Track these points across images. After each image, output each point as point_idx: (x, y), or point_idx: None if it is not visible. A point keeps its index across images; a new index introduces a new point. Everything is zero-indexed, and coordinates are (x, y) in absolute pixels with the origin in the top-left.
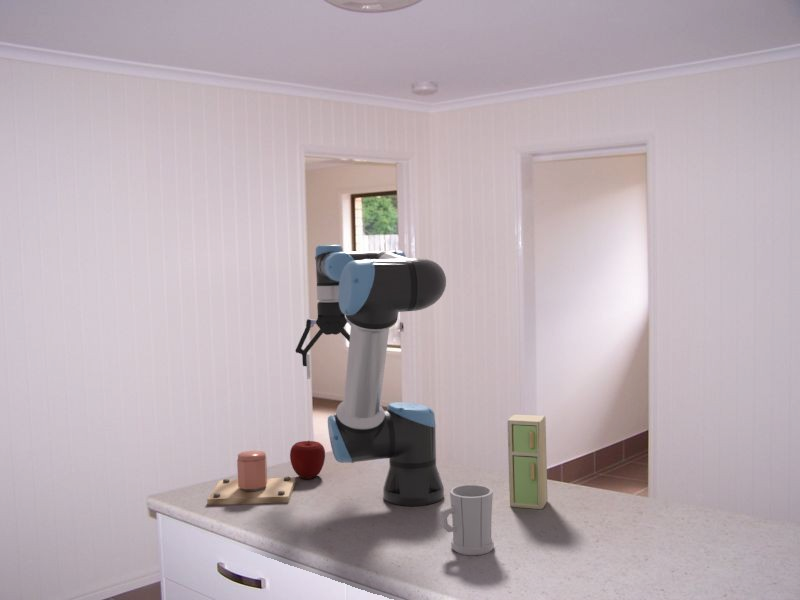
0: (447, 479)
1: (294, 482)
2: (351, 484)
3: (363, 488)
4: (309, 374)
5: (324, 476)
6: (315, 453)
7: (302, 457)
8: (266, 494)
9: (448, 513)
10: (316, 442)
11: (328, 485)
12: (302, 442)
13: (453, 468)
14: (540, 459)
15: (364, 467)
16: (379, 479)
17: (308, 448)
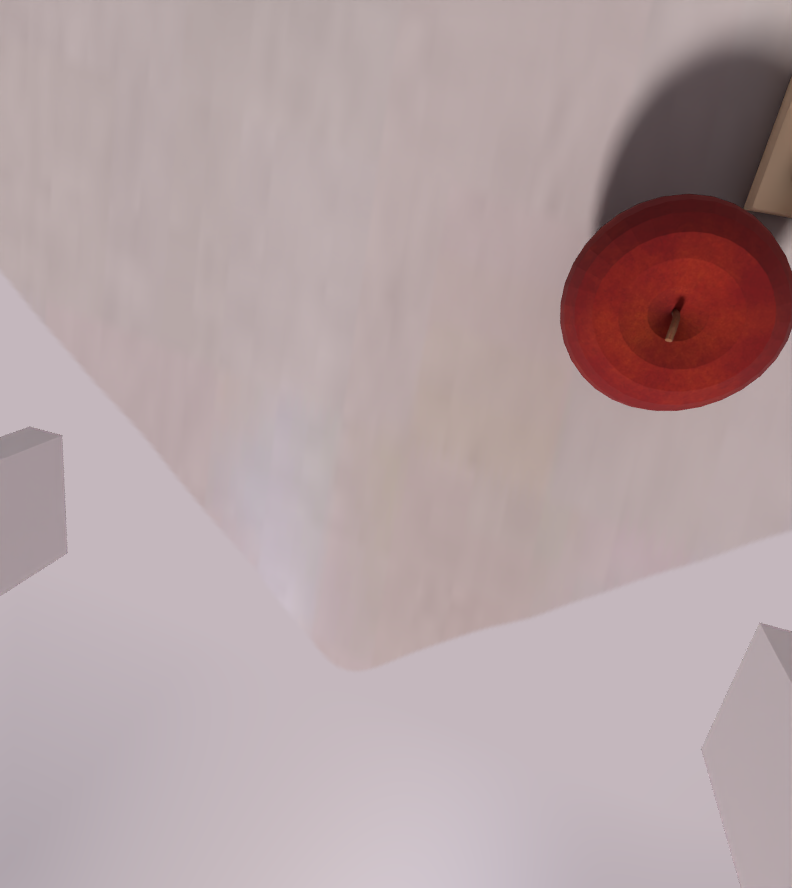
0: (58, 59)
1: (766, 158)
2: (467, 97)
3: (423, 5)
4: (789, 673)
5: None
6: (644, 207)
7: (733, 203)
8: None
9: None
10: (612, 334)
11: (582, 111)
12: (707, 358)
13: (30, 223)
14: None
15: (365, 365)
16: (329, 147)
17: (694, 223)
